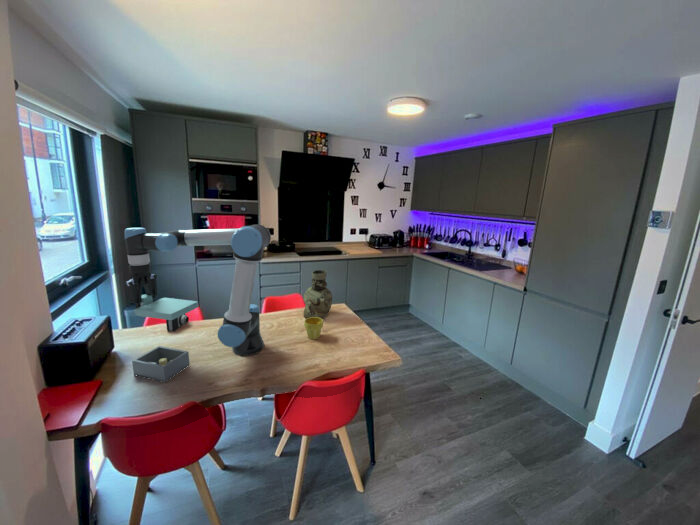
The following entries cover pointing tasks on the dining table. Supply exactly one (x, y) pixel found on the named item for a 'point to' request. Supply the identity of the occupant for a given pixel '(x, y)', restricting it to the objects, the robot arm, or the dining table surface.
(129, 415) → the dining table surface
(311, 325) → the plant pot
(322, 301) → the ceramic vessel
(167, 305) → the lid
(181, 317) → the camera
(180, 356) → the tub
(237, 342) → the robot arm
